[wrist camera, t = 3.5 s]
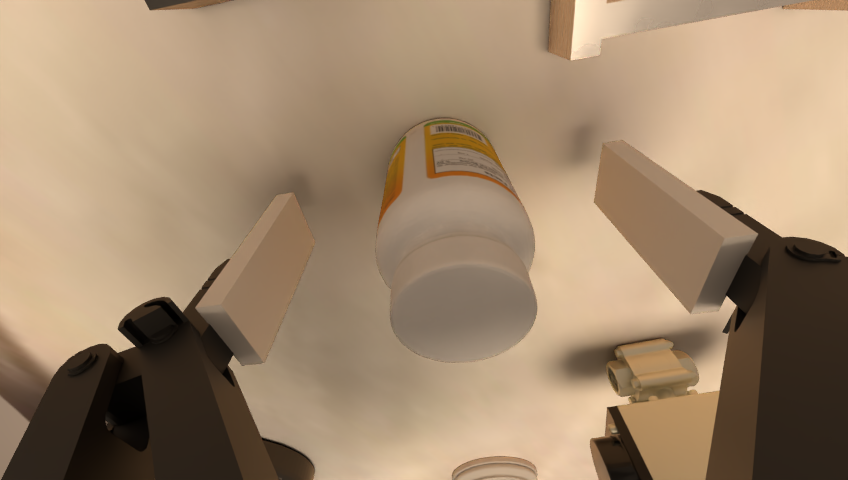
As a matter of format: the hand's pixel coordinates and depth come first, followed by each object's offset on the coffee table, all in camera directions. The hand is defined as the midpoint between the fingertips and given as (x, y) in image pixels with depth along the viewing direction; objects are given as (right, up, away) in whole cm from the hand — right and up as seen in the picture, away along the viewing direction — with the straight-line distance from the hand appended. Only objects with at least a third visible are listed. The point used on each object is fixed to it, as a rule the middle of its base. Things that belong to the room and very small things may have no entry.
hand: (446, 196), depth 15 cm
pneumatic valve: (+16, -11, +12) cm, 22 cm away
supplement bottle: (0, +2, +2) cm, 3 cm away
